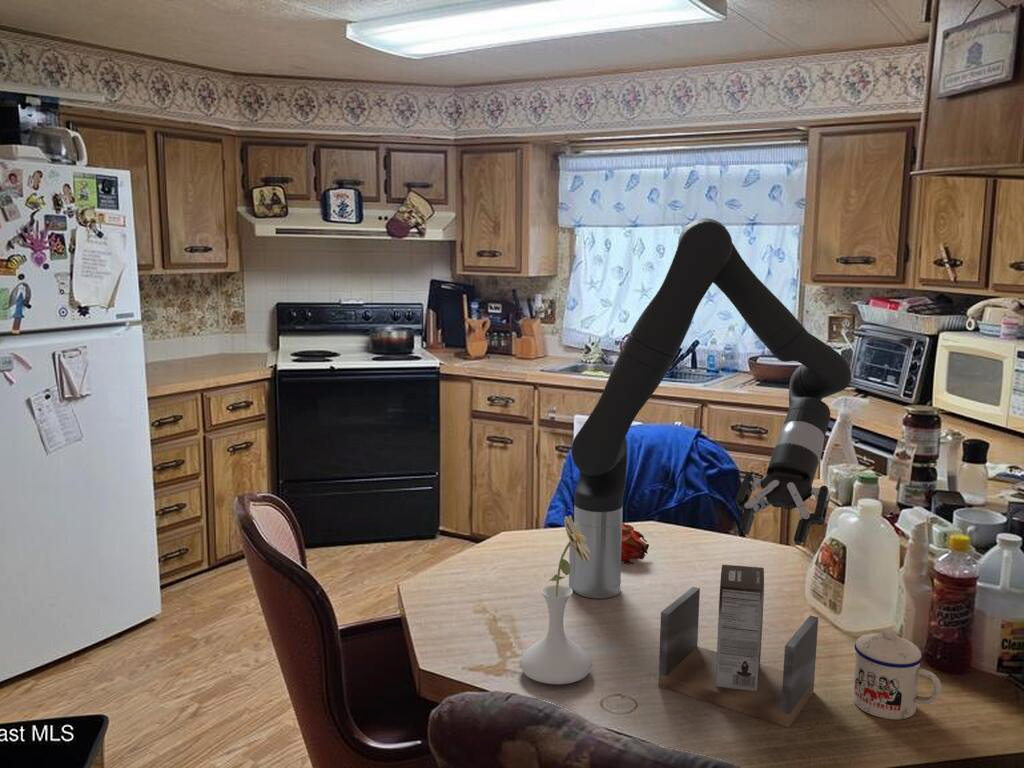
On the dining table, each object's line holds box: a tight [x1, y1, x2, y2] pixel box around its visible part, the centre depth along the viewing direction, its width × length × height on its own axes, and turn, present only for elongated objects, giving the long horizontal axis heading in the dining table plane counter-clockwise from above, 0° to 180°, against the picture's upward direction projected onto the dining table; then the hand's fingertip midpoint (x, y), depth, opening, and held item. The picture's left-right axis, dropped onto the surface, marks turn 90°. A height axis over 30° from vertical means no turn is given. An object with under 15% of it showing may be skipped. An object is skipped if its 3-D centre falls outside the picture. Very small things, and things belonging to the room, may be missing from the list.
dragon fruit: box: [621, 522, 650, 565], centre depth 185 cm, size 8×8×12 cm
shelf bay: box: [658, 586, 819, 728], centre depth 131 cm, size 20×12×12 cm, turn 55°
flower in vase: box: [519, 514, 593, 685], centre depth 135 cm, size 13×11×25 cm
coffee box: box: [716, 564, 765, 692], centre depth 131 cm, size 9×6×16 cm
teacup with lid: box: [852, 628, 942, 720], centre depth 126 cm, size 12×9×12 cm
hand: (770, 537), depth 140 cm, fingers open, 8 cm apart
